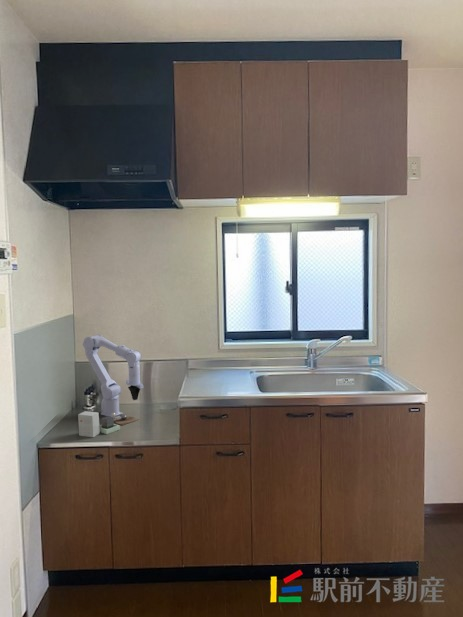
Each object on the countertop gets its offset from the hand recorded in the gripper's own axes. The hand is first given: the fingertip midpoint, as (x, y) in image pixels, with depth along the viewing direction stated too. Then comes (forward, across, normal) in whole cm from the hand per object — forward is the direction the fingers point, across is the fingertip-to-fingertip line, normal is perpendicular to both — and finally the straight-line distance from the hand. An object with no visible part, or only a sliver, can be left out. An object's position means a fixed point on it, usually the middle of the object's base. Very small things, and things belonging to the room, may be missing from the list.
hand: (135, 399), depth 269 cm
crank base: (+9, +1, -8) cm, 12 cm away
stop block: (+9, +10, -21) cm, 25 cm away
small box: (+10, +9, -30) cm, 33 cm away
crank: (+8, +1, -10) cm, 13 cm away
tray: (+9, +10, -21) cm, 25 cm away
